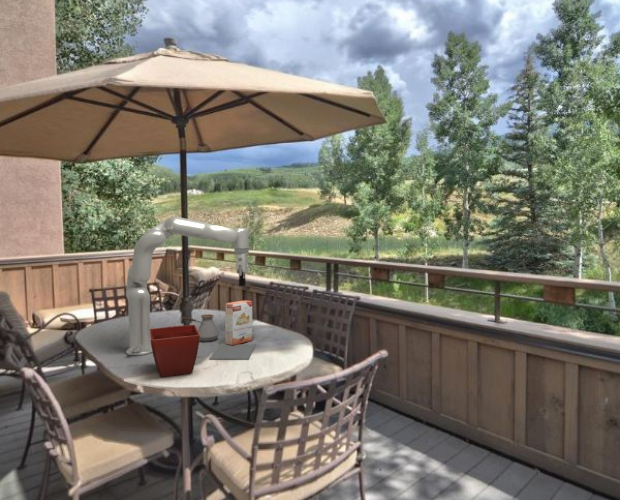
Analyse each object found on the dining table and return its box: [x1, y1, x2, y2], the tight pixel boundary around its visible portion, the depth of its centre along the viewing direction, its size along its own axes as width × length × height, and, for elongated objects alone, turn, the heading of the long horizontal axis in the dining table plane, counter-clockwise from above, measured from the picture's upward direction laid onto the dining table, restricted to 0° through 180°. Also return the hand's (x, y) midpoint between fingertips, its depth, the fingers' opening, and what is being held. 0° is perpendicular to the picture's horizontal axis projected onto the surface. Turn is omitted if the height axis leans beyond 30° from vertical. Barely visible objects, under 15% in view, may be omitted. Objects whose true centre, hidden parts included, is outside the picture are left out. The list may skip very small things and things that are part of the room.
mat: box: [208, 343, 256, 361], centre depth 211 cm, size 22×18×1 cm
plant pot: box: [150, 324, 200, 378], centre depth 185 cm, size 19×19×17 cm
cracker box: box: [224, 299, 253, 345], centre depth 225 cm, size 14×6×21 cm, turn 143°
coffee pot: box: [179, 314, 219, 343], centre depth 227 cm, size 21×12×15 cm, turn 136°
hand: (242, 285), depth 233 cm, fingers closed
